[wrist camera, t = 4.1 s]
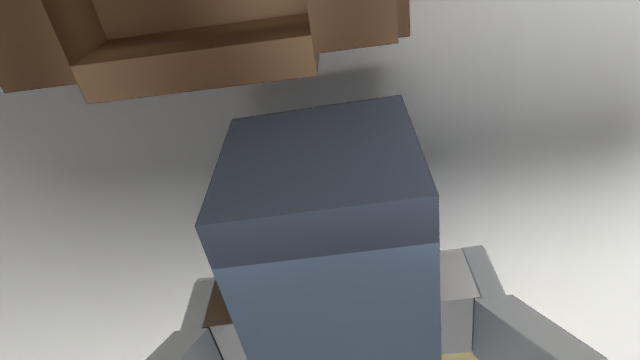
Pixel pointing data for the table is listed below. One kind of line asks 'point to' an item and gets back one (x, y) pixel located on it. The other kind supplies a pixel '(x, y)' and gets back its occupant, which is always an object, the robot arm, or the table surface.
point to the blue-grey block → (327, 234)
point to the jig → (181, 42)
